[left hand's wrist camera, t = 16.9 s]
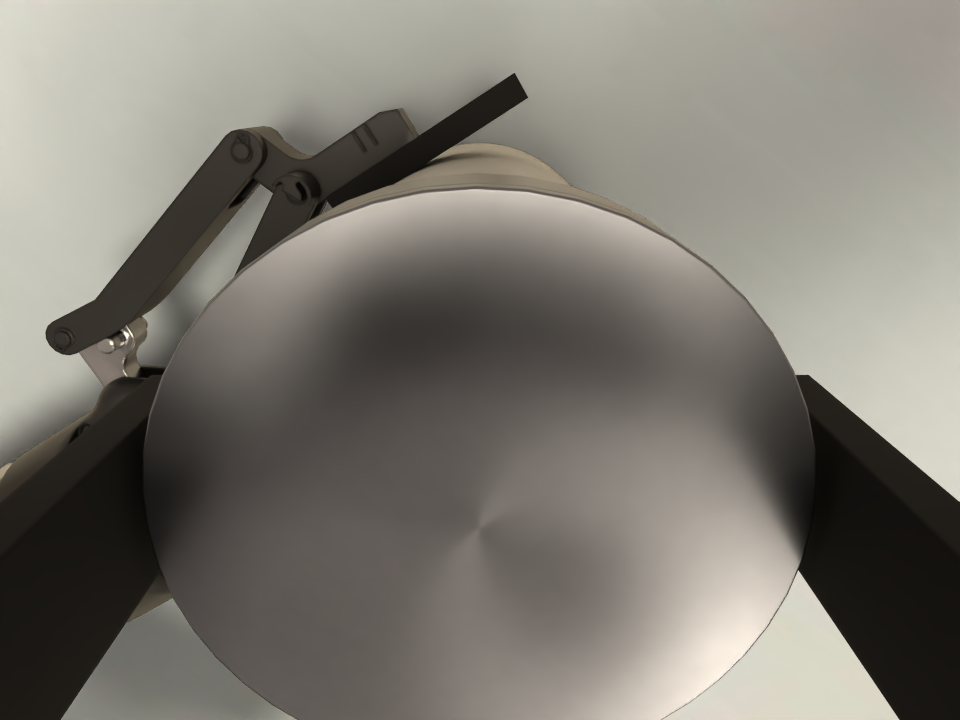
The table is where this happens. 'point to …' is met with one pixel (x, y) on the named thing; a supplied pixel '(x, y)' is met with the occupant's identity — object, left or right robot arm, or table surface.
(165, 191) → the table surface
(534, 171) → the jar
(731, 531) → the lid
